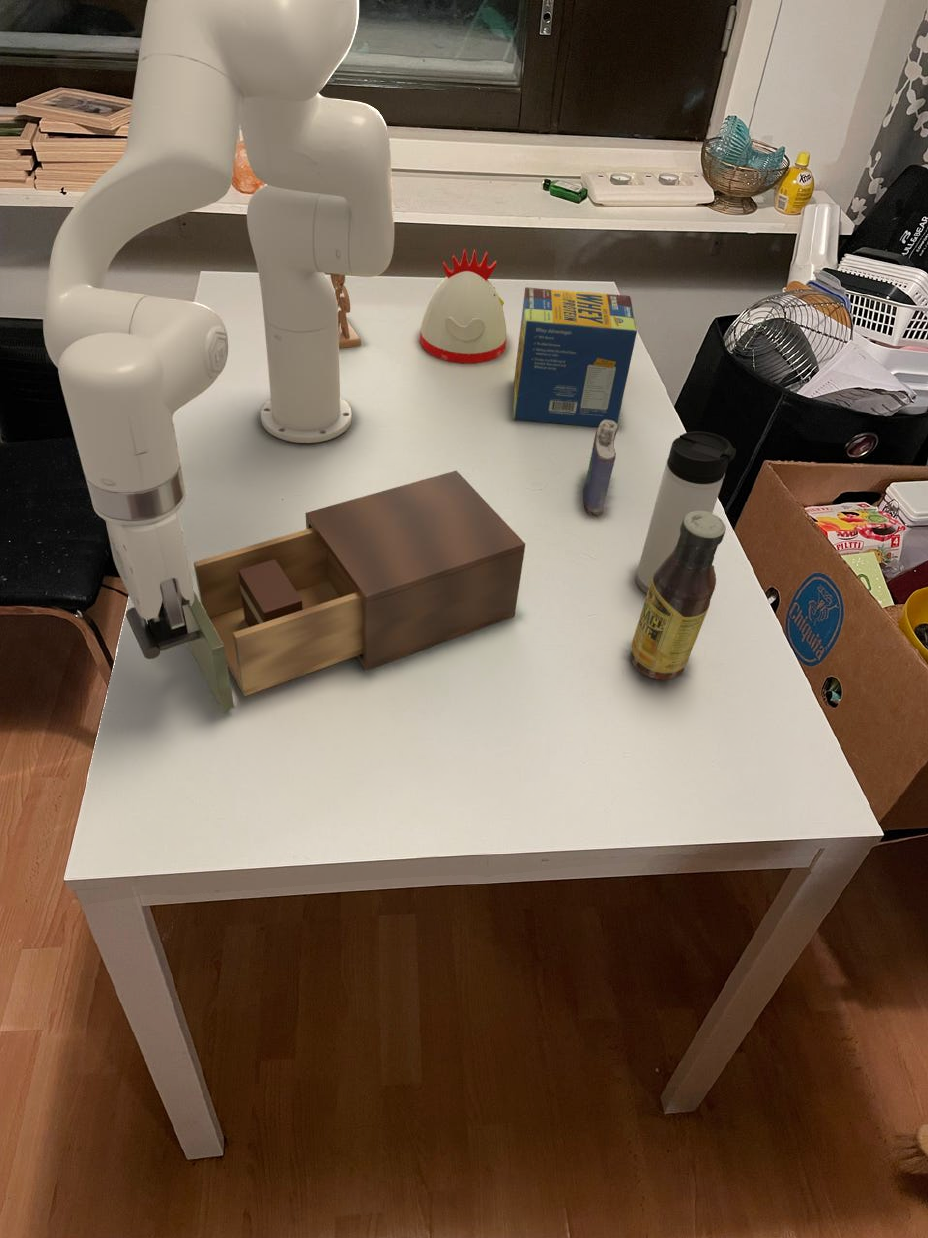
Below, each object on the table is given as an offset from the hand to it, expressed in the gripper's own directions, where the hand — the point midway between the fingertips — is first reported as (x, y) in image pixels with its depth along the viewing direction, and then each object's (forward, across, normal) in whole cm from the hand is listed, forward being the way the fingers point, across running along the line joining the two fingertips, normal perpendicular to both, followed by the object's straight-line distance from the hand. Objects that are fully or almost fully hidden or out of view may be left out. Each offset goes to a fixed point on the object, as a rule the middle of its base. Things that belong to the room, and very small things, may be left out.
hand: (170, 638), depth 89 cm
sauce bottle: (+6, +21, +46) cm, 51 cm away
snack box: (+4, 0, +10) cm, 11 cm away
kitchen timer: (+6, -50, +63) cm, 81 cm away
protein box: (+6, -27, +67) cm, 73 cm away
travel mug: (+6, +11, +55) cm, 56 cm away
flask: (+6, -7, +58) cm, 59 cm away
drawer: (+5, 0, +8) cm, 10 cm away
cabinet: (+6, 0, +27) cm, 28 cm away
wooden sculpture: (+6, -60, +46) cm, 76 cm away
